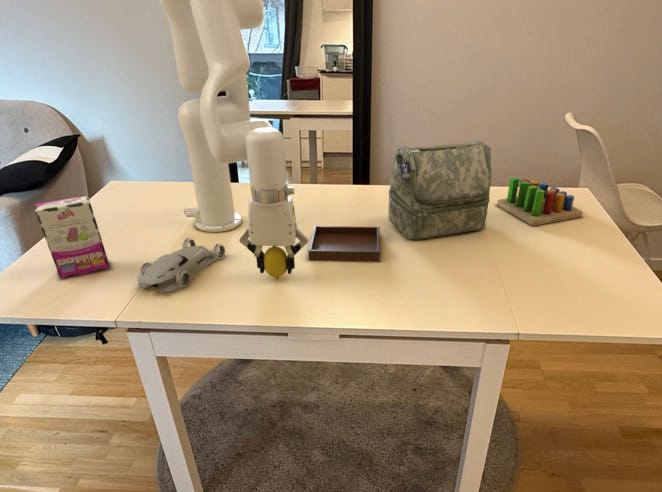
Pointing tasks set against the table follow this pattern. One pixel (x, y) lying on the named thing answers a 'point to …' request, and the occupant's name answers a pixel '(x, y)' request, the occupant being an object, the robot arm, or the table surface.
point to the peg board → (538, 203)
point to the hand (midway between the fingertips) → (276, 270)
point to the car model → (178, 267)
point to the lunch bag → (440, 189)
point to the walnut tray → (345, 243)
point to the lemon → (275, 261)
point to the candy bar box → (72, 236)
